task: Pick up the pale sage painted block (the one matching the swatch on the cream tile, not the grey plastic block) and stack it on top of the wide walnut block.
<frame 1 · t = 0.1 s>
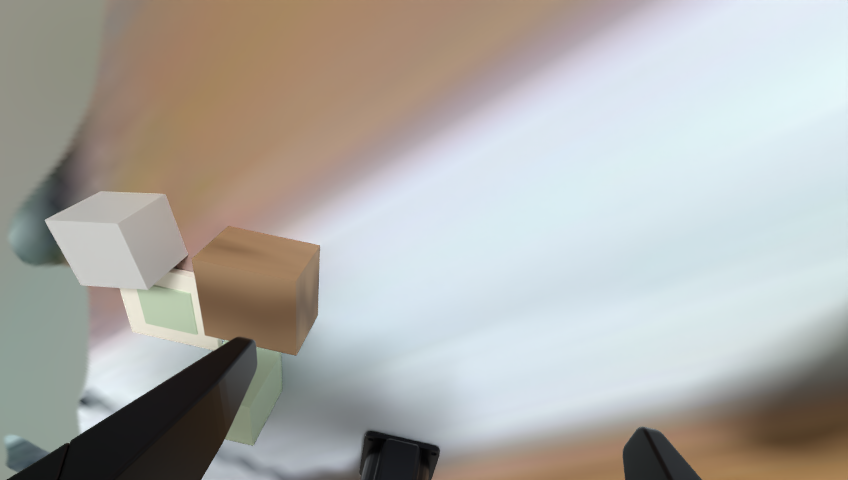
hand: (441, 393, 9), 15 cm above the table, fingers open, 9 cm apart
grey block: (147, 223, 27), on the table
sage block: (255, 365, 33), on the table
walnut block: (276, 271, 28), on the table
swatch tile: (172, 303, 30), on the table
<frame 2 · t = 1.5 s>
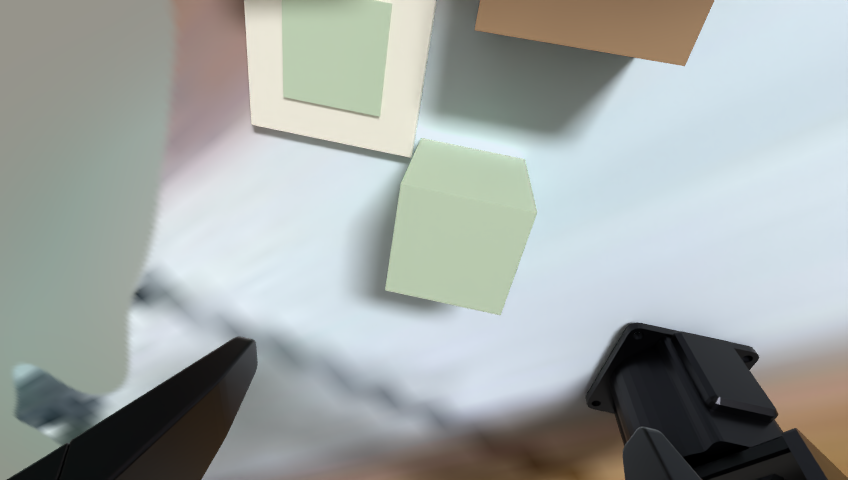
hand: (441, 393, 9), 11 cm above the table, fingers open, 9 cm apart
sage block: (461, 195, 19), on the table
swatch tile: (338, 51, 16), on the table
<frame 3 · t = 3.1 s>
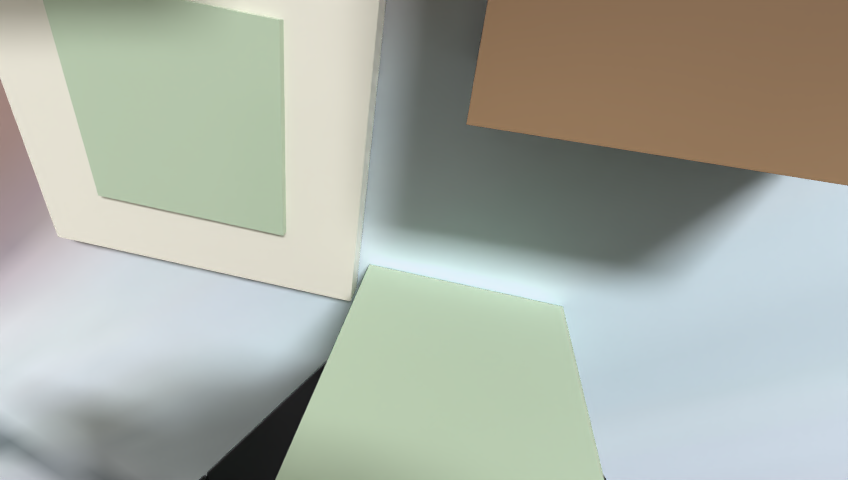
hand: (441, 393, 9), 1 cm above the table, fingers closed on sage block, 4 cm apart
sage block: (446, 353, 11), on the table, touching gripper
swatch tile: (196, 111, 8), on the table
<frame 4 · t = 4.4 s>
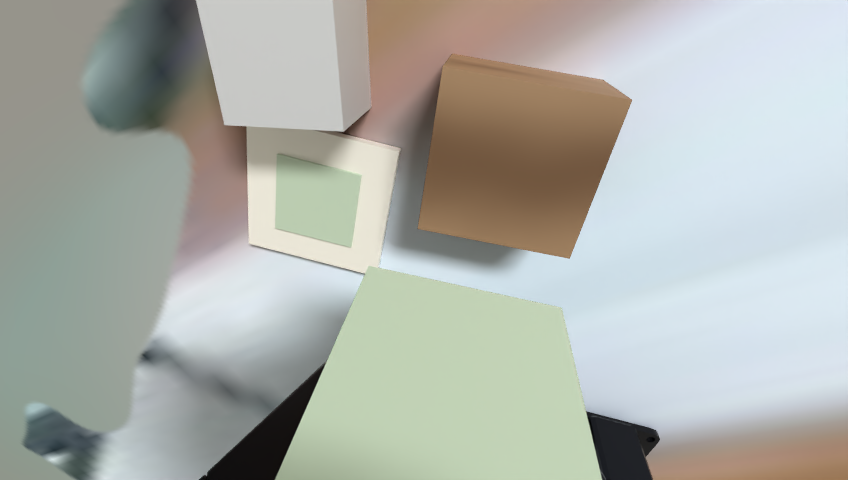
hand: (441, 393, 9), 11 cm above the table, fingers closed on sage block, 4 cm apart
grey block: (316, 48, 17), on the table
sage block: (445, 354, 11), point 10 cm above the table, touching gripper
walnut block: (508, 139, 18), on the table
swatch tile: (320, 197, 20), on the table
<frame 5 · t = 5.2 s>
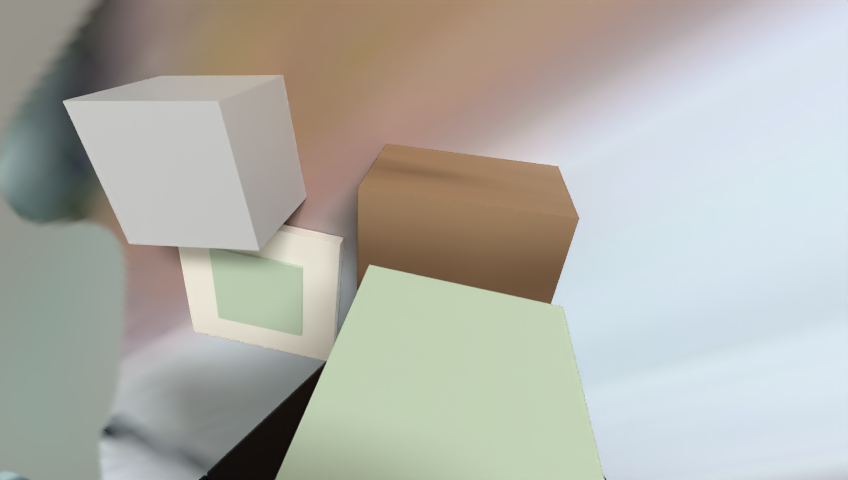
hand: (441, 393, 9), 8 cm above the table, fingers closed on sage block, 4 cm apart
grey block: (239, 139, 15), on the table
sage block: (446, 353, 10), point 6 cm above the table, touching gripper
walnut block: (459, 226, 16), on the table
swatch tile: (264, 285, 19), on the table
when the fingers open (6 cm above the table, at t = 5.7 s): sage block drops 1 cm, resting on walnut block.
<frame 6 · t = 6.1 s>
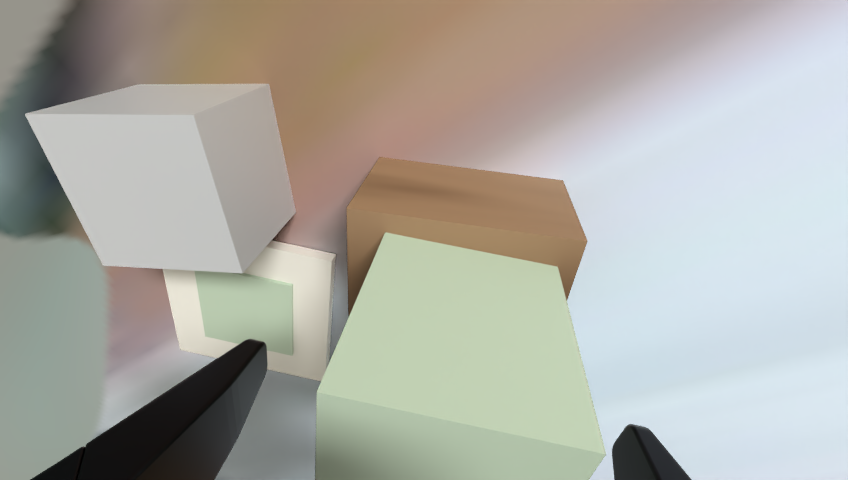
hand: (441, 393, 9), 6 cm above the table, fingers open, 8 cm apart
grey block: (223, 151, 14), on the table
sage block: (454, 314, 12), point 4 cm above the table, touching walnut block
walnut block: (458, 242, 15), on the table, touching sage block
swatch tile: (253, 303, 18), on the table
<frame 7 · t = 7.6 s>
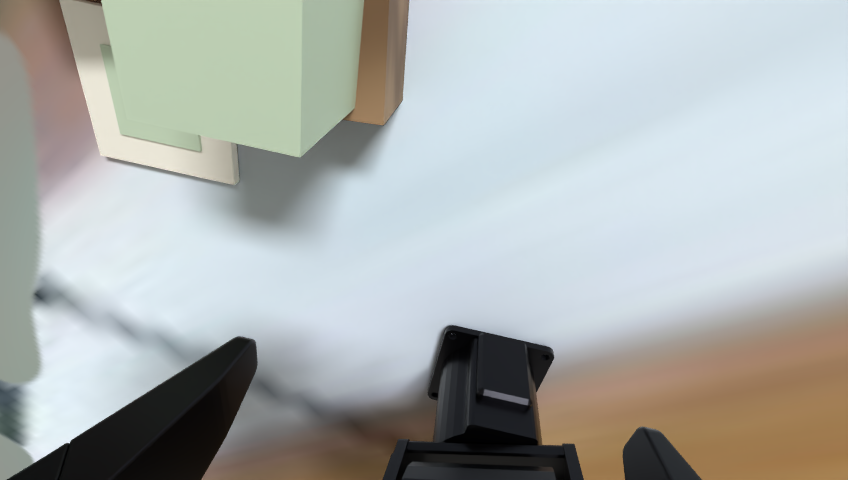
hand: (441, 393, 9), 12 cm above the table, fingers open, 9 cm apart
sage block: (293, 23, 13), point 4 cm above the table, touching walnut block
walnut block: (335, 14, 17), on the table, touching sage block
swatch tile: (162, 97, 19), on the table
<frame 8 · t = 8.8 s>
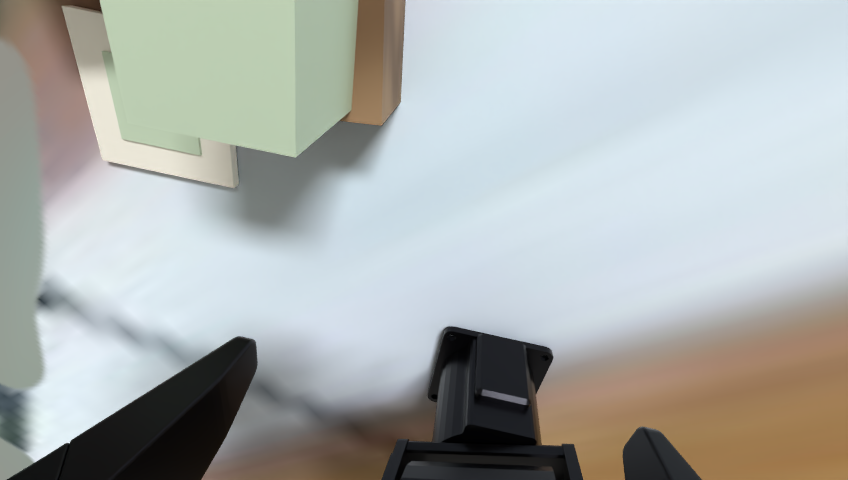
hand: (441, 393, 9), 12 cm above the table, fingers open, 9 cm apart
sage block: (289, 29, 14), point 4 cm above the table, touching walnut block
walnut block: (333, 18, 17), on the table, touching sage block
swatch tile: (162, 102, 20), on the table
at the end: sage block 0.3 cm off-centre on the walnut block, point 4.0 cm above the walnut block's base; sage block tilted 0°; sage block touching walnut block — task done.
